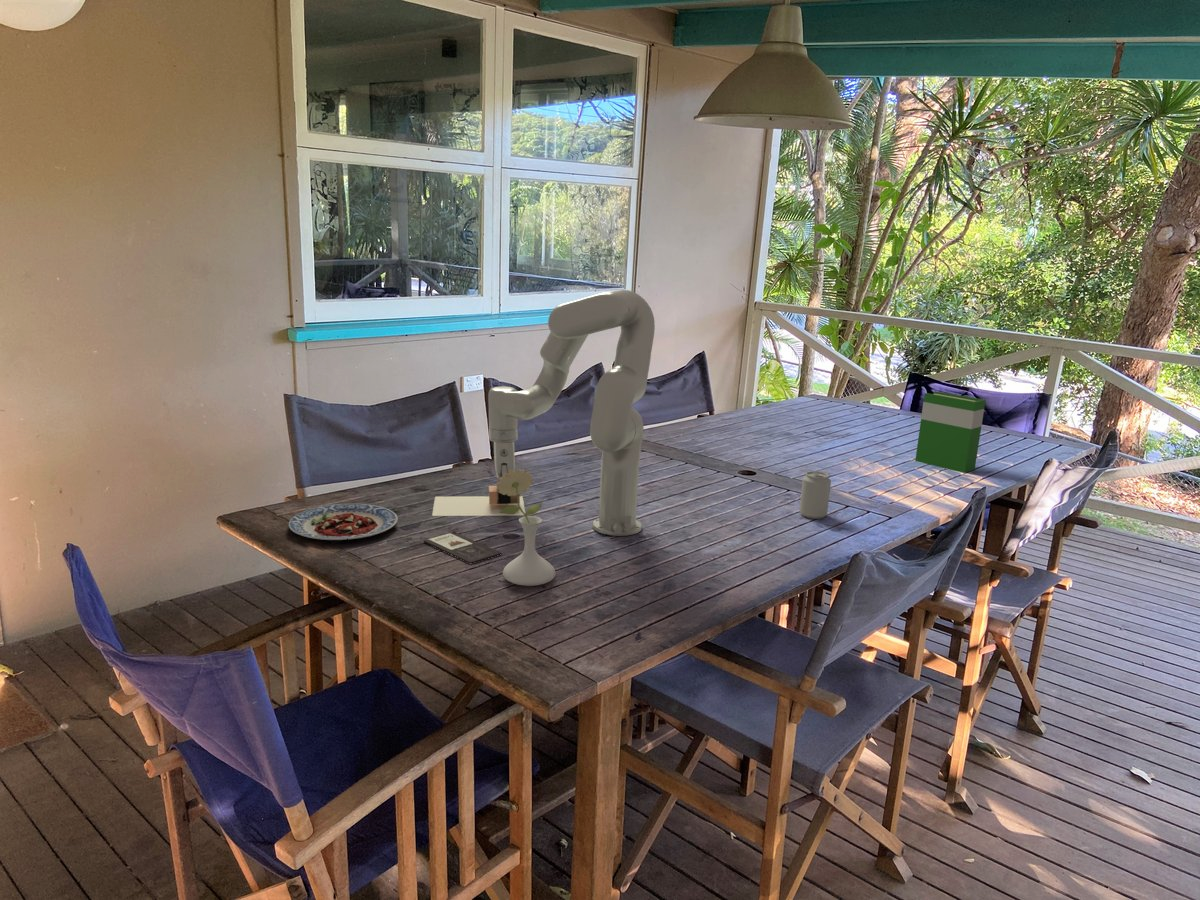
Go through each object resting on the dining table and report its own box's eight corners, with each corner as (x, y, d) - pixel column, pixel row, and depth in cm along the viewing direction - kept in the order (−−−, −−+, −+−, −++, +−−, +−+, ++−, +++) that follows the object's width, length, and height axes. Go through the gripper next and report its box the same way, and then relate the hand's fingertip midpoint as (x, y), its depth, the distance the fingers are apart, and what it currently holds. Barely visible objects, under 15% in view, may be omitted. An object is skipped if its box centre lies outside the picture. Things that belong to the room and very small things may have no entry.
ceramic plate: (419, 526, 216) (419, 515, 215) (336, 556, 195) (336, 543, 194) (351, 505, 230) (350, 494, 229) (266, 530, 209) (266, 518, 208)
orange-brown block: (519, 503, 228) (519, 491, 227) (489, 504, 227) (489, 491, 226) (518, 497, 233) (518, 485, 232) (489, 498, 232) (488, 485, 231)
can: (807, 520, 232) (811, 478, 229) (794, 511, 239) (798, 470, 235) (832, 519, 234) (836, 477, 231) (818, 510, 241) (822, 469, 238)
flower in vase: (555, 570, 191) (559, 462, 185) (554, 591, 180) (558, 477, 174) (497, 569, 191) (498, 460, 184) (492, 590, 180) (493, 475, 173)
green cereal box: (915, 461, 298) (924, 393, 292) (925, 457, 303) (935, 391, 297) (964, 473, 285) (975, 402, 279) (974, 469, 290) (985, 400, 284)
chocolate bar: (470, 562, 193) (423, 540, 204) (470, 566, 193) (423, 544, 205) (501, 552, 199) (454, 531, 211) (501, 556, 199) (454, 535, 211)
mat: (525, 518, 224) (525, 515, 224) (432, 518, 221) (432, 515, 221) (522, 499, 239) (522, 496, 239) (435, 499, 236) (435, 496, 236)
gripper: (519, 441, 218) (519, 509, 222) (516, 426, 234) (517, 490, 239) (489, 441, 217) (490, 510, 221) (488, 427, 233) (489, 490, 238)
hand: (504, 499), depth 230 cm, fingers closed on orange-brown block, 5 cm apart
